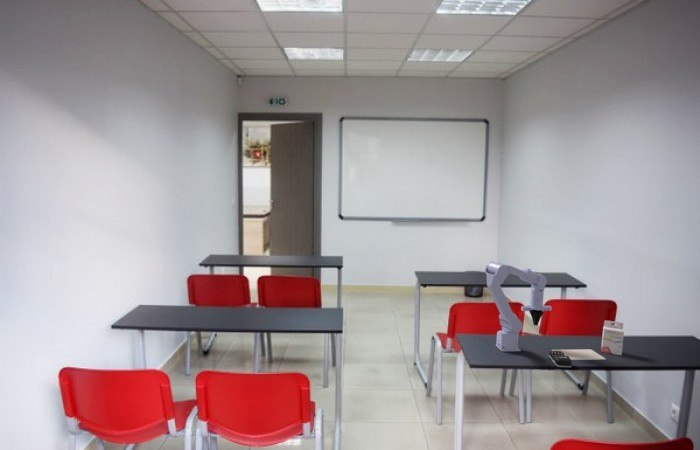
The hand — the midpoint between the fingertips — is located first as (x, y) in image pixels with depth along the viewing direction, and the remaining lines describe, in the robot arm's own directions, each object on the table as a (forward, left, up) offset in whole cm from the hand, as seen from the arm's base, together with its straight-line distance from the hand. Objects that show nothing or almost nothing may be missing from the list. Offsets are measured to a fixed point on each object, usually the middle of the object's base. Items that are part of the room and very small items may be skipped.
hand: (535, 324), depth 237 cm
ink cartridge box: (+34, -10, -11) cm, 37 cm away
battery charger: (+2, -16, -8) cm, 18 cm away
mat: (+15, -13, -10) cm, 23 cm away
